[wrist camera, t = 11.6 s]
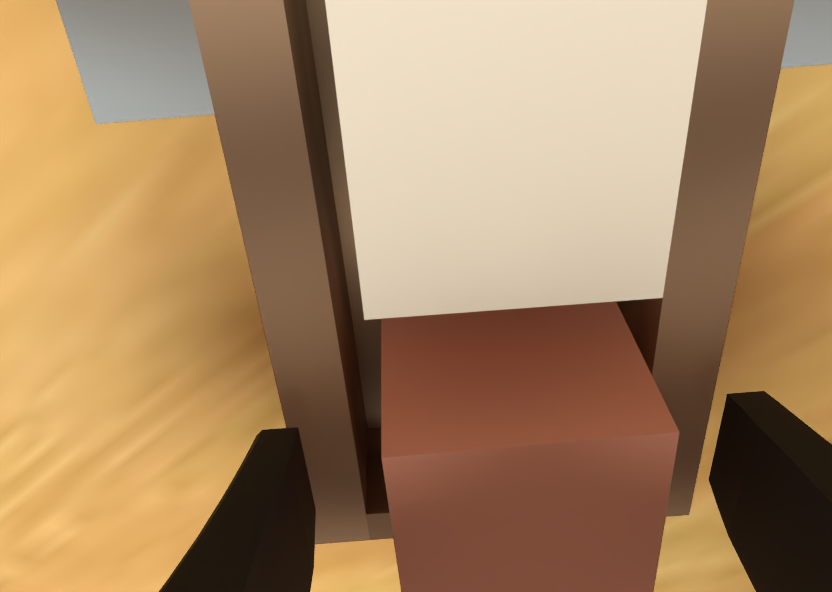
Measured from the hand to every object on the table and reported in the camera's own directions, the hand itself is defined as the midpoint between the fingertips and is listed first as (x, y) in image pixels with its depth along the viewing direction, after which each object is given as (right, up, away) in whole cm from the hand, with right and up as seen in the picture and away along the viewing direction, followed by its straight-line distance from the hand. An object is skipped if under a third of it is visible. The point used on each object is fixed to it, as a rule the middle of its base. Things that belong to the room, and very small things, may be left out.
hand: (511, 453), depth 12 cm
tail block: (0, +2, +3) cm, 4 cm away
